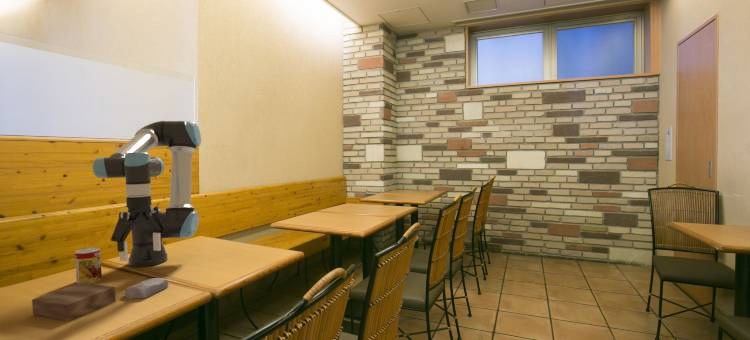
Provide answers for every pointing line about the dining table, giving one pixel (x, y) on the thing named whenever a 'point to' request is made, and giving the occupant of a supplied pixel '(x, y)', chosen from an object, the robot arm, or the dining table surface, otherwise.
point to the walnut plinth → (73, 301)
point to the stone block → (146, 288)
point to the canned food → (88, 265)
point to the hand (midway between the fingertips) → (141, 255)
